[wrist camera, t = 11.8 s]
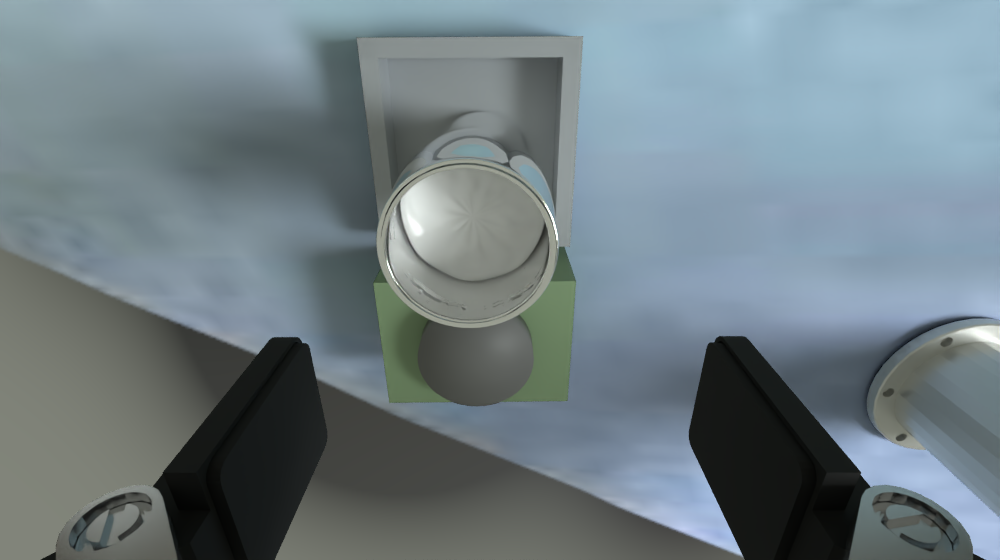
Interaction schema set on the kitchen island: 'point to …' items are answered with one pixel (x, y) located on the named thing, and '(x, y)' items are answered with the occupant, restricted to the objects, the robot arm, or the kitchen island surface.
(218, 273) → the kitchen island surface
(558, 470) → the kitchen island surface
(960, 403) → the robot arm
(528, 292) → the beer glass
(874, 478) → the kitchen island surface
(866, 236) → the kitchen island surface
